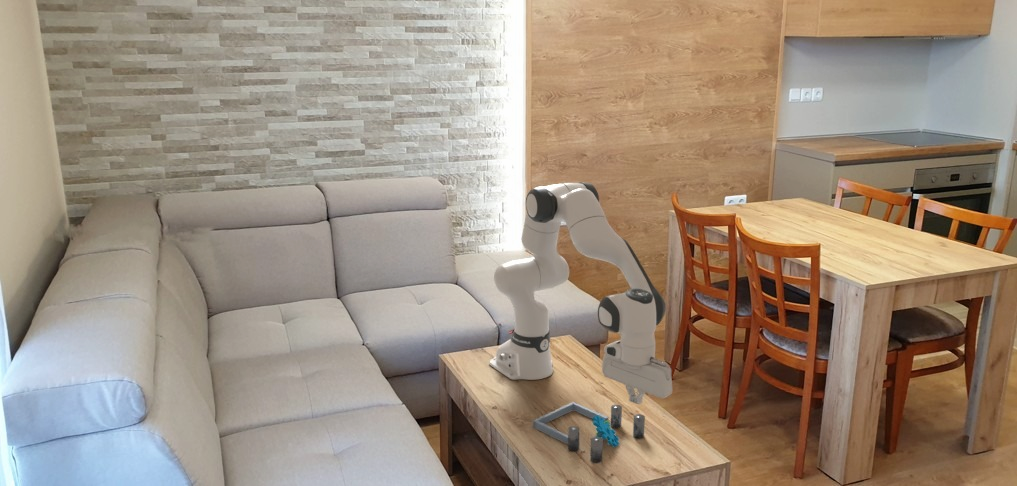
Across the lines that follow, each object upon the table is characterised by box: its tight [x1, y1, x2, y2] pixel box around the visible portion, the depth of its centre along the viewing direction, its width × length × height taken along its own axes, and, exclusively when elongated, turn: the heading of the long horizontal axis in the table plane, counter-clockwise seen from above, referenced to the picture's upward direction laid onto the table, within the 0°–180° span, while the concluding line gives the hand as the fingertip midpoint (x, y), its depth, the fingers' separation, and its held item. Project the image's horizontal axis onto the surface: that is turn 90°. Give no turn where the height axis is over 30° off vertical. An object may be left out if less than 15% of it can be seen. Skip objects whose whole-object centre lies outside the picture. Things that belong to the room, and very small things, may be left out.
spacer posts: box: [567, 404, 646, 464], centre depth 212 cm, size 11×21×6 cm, turn 133°
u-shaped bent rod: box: [532, 401, 609, 445], centre depth 222 cm, size 14×17×2 cm
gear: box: [591, 415, 621, 448], centre depth 213 cm, size 11×6×10 cm
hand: (635, 402), depth 202 cm, fingers closed
